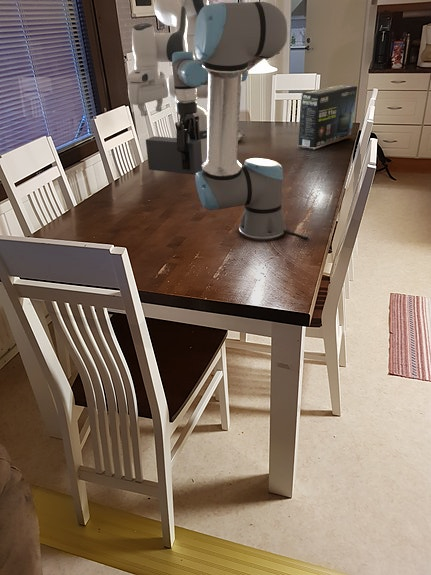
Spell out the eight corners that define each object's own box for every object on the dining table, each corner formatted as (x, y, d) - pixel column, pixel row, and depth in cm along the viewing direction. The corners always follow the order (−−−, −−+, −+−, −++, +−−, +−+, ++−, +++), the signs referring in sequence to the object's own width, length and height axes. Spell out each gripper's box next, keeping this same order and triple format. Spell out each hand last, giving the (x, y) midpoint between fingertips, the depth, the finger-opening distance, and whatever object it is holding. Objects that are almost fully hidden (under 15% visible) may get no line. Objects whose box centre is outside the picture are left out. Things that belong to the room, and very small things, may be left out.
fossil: (235, 139, 243) (216, 121, 246) (225, 155, 249) (206, 138, 252) (251, 137, 256) (233, 120, 260) (241, 153, 263) (223, 137, 266)
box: (202, 170, 174) (200, 139, 168) (195, 174, 169) (193, 143, 164) (157, 165, 182) (154, 136, 176) (148, 169, 177) (145, 139, 172)
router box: (314, 151, 231) (318, 94, 217) (296, 148, 237) (299, 92, 224) (352, 138, 251) (358, 85, 238) (335, 135, 258) (340, 83, 245)
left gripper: (157, 70, 179) (160, 108, 186) (123, 77, 164) (128, 117, 171) (170, 71, 176) (173, 109, 183) (137, 77, 161) (141, 119, 168)
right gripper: (189, 96, 169) (193, 159, 181) (162, 105, 154) (168, 172, 166) (207, 97, 166) (210, 161, 178) (182, 106, 152) (186, 174, 163)
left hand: (151, 113), depth 177 cm, fingers open, 8 cm apart
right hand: (190, 166), depth 172 cm, fingers closed on box, 6 cm apart
